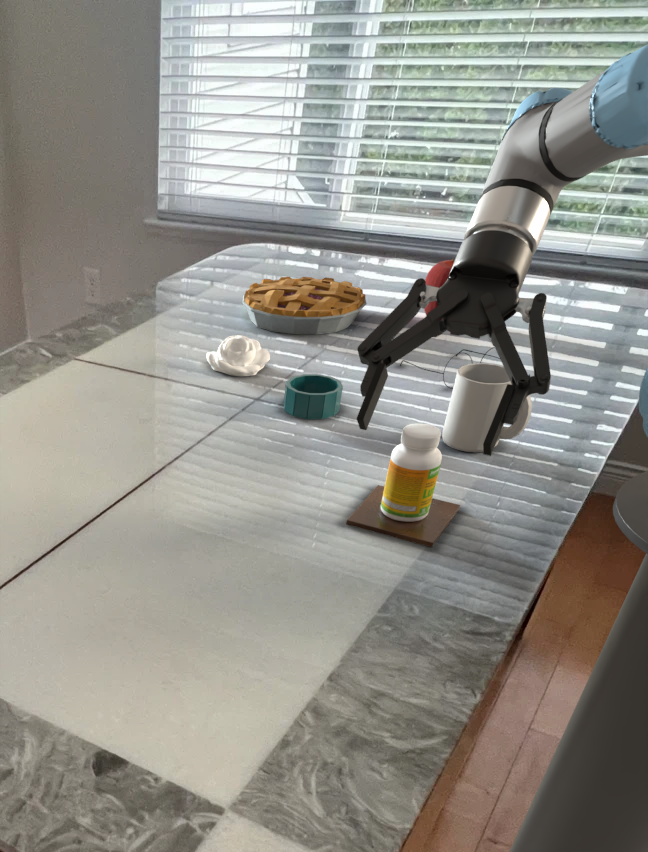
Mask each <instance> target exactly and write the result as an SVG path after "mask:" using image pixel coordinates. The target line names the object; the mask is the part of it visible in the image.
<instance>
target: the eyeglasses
mask: <svg viewBox="0 0 648 852" xmlns="http://www.w3.org/2000/svg"><path fill="white" fill-rule="evenodd" d="M493 349H495V347H494V346H493V347H491V348H489V349H488V350H487V351H486V352H485V353H483V352H479V351H478V352H477V351H473V350H470V349H463V348H462V349H461V350H460V351H459V352H457V353H456V354H454V355H453V356H452V357H450V359H449V360H448V361H447V363H446V364H445V366H444V370H443V372H440V371H436V370H430V369H426V368H423V367H420V366H418V365H416V364H414V363H412V362H409V361H407V360H405V359H402V360H401V362H400V364H399V367H402V364H403V362H404V363H406V364H409V365H411V366H414V367H416V368H418V369H421V370H424V371H428V372H432V373H437V374H441V375H442V380H443V384H444V385H445V386H446V388H448V389H452V390H453V387H450V386H448V385H447V384H446V381H445V371H446V369H447V366H448V364H449V363H450V361H451V360H452V359H453V358H454V357H457V356H459V355H460V354H461V353H463V351H465V352H464V354H465V355H468V357H469V358H470V361H471V364H474V363H473V359H472V356H471V355H470V354H469V353H467V352H470V353H475V354H479V355H482V357H481V359H480V362H479V363H482V361H483V359H484V358H485V356H487V357H492V358H496V359H499V360H500V357H499V356H498V357H497V356H494V355H491V354H488V353H489V352H490V351H491V350H493Z"/></svg>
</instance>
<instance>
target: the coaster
mask: <svg viewBox="0 0 648 852" xmlns="http://www.w3.org/2000/svg"><path fill="white" fill-rule="evenodd" d="M384 487H385V485H379V484H378V485H376V487H375V488H374V489H373V490H372V491H371V492H370V494H369V495H367V497H366V498H365V499H364V500H363V501H362V502H361V503H360V505H359V506H358V507H356V509H355V510H354V511H353V512H352V514H351V515H350V516H349V517H348V518H347V519H346V521H345V524H346V525H347V526H351V527H354V528H358V529H362V530H366V531H369V532H373V533H376V534H381V535H384V536H388V537H392V538H396V539H400V540H403V541H406V542H410V543H415V544H419V545H422V546H426V547H429V548H433V547H434V546H435V544H436V542H437V541H438V539H440V537H441V535H442V534H443V533H444V532H445V530H446V529H447V527H448V526H449V524H450V523H451V521H452V520H453V519H454V518H455V516H456V515H457V513H458V512H459V511H460V508H461V504H459V503H454V502H449V501H445V500H441V499H437V498H433V497H432V501H431V505H430V509H429V512H428V514H427V516H426V517H425V518H423V519H421V520H419V521H413V522H404V521H397V520H394V519H391V518H389V517H387V516H386V515H385V514H384V513H383V512H382V511H381V501H382V497H383V492H384Z"/></svg>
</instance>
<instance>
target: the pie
mask: <svg viewBox="0 0 648 852" xmlns="http://www.w3.org/2000/svg"><path fill="white" fill-rule="evenodd" d="M366 300H367V299H366V294H365V293H364V292H363V288H361V287H359V286H357V287H356V286H353V283H352V282H351V281H347V280H344V281H341V282H340V281H335V279H334V278H333V277H323V278H322V279H321V278H320V279H319V278H314V277H311V276H302V277H300V278H297V277H296V278H292V277H291V276H280V278H279V279H275V280H274V279H271V278H264V279H262V280H261V282H260V284H259V283H258V282H253V283H251V284H250V285H249V288H248V289H247V290H245V292H244V294H243V295H242V305H243V306H244V307H245V309H246V311H247V314H248V317H249V320H250V321H251V322H252V324H254V325H255V326H256V328H260V329H263V330H267V331H270V332H276V333H282V334H290V335H324V334H334V333H338V332H341V331H343V330H345V329H347V328H349V326H350V325H351V324H352V323H354V321H355V320H356V318H357V317H358V315H359V313H360V312H361V310H363V308H364V307H365V306H366V305H367V301H366Z"/></svg>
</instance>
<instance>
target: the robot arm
mask: <svg viewBox="0 0 648 852" xmlns="http://www.w3.org/2000/svg"><path fill="white" fill-rule="evenodd" d="M505 130H506V131H505V132H504V133H503V134H502V138H501V140H500V144H499V148H498V149H497V153H496V155H495V158H494V160H493V163H492V166H491V168H490V171H489V174H488V176H487V179H486V181H485V184H484V187H483V188H482V191H481V194H480V198H479V200H478V202H477V204H476V207H475V209H474V212H473V214H472V216H471V219H470V221H469V224H468V226H467V229H466V231H465V233H464V237H463V238H464V239H463V241H462V242H461V244H460V246H459V249H458V251H457V255H456V256H455V259H454V260H455V261H454V264H453V266H452V269H451V271H450V274H449V276H448V279H447V281H446V282H445V283H444V284H443V285H442V286H441V287H440V288H438V287H434V286H430V285H426V282H425V279H424V278H423V277H420V278H417V279H416V280H415V281H414V282H413V284H412V286H411V289H410V290H409V292H408V293H407V296H406V297H405V298H404V299H403V300H402V301H401V302H400V303H398V305H397V306H396V307H395V308H394V309H393V310H392V311H391V312H390V313H389V314H388V315H387V316H386V317H385V318H384V319H383V320H382V322H380V323H379V324H378V325H377V326H376V327H375V328H374V329H373V331H371V333H370V334H368V336H366V338H364V340H363V341H362V342H361V343H359V345H358V346H357V348H356V349H357V354H358V357H359V358H358V359H359V361H360V363H361V365H366V366H367V367H366V370H365V374H364V376H363V378H362V381H361V384H360V386H359V387H360V388H359V389H360V394H361V396H362V397H363V398H364V399H363V401H362V403H361V405H360V409H359V411H358V413H357V416H356V422H357V424H358V428H359V430H363V431H367V430H368V428H369V425H370V422H371V420H372V418H373V415H374V413H375V410H376V408H377V405H378V402H379V400H380V397H381V394H382V392H383V390H384V387H385V385H386V383H387V379H388V377H389V374H388V369H387V368H390V367H391V366H392V365H394V364H395V363H397V362H398V361H400V360H401V359H403V358H404V357H405V356H407V355H408V354H410V353H411V352H414V350H416V349H417V348H419V347H420V346H422V345H423V344H425V343H427V342H428V341H430V340H431V339H432V338H438V337H439V336H441V335H442V334H443V333H445V332H448V333H449V334H450V335H451V336H457V337H458V336H467V337H470V338H472V339H478V340H479V339H480V338H481V337H485V336H488V338H489V340H490V342H491V344H492V346H493V347H495V348H494V349H495V351H496V353H497V355H498V358H500V359H499V360H500V362H501V364H502V366H504V368H505V370H506V373H507V375H508V377H509V379H510V381H511V384H512V385H511V384H507V386H506V389H505V391H504V394H503V396H502V399H501V401H500V404H499V406H498V409H497V411H496V414H495V416H494V418H493V421H492V423H491V426H490V428H489V431H488V433H487V436H486V438H485V441H484V443H483V452H482V453H483V455H485V456H489V457H491V456H492V454H493V451H494V449H495V447H496V446H495V444H496V442H497V439H498V437H499V434H500V432H501V429H502V427H503V424H504V425H505V424H507V425H510V426H511V425H513V424H514V423H515V422H516V421H517V418H518V415H519V413H520V411H521V408H522V406H523V403H524V401H525V399H526V397H527V396H528V395H529V396H531V395H534V394H538V395H541V396H542V395H546V394H547V393H548V392H549V391H550V387H551V378H552V374H551V368H550V361H549V354H548V353H549V352H548V347H547V338H546V332H545V331H546V330H545V323H544V317H545V315H546V308H547V295H546V293H544V292H538V293H536V294H535V295H534V297H533V298H529V297H528V298H527V297H520V296H519V295H520V292H521V289H522V287H523V284H524V281H525V280H526V277H527V274H528V272H529V269H530V267H531V264H532V262H533V257H534V255H535V253H536V252H537V250H538V248H539V245H540V243H541V240H542V238H543V234H544V232H545V231H546V227H547V225H548V222H549V219H550V217H551V215H552V212H553V210H554V207H555V205H556V203H557V201H558V198H559V195H560V193H561V191H562V190H563V189H564V188H565V187H566V186H568V185H570V184H572V183H574V182H576V181H578V180H581V179H582V178H584V177H586V176H588V175H590V174H591V173H594V172H596V171H597V170H599V169H601V168H603V167H605V166H607V165H609V164H611V163H613V162H616V161H619V160H624V159H630V158H638V157H639V158H640V157H646V156H648V43H647V44H646V45H644V46H642V47H640V48H638V49H637V50H634V51H633V52H629V53H627V54H625V55H622V56H621V57H620V58H619V59H618V60H616V61H614V62H613V63H612V64H611V65H610V66H609V67H608V68H606V69H605V70H603V71H602V72H601V73H598V74H597V75H595V76H594V77H593V78H592V79H590V80H589V81H587V82H585V83H584V84H582V85H581V86H580V87H578V88H577V89H575V90H570V89H568V88H564V87H550V88H549V89H548V90H545V91H543V90H537V91H535V92H533V93H531V94H530V95H527V97H525V99H523V100H522V101H521V103H520V104H519V105H518V107H517V108H516V110H515V112H514V115H513V117H512V119H511V122H510V123H509V124H508V126H507V127H506V129H505ZM432 301H437V307H436V308H434V309H433V310H431V311H430V312H429V313H428V314H427V316H426V315H425V317H424V318H422V319H421V320H419V321H418V322H416V323H415V324H413V325H412V326H410V327H409V328H407V329H406V330H405V331H403V329H405V328H406V326H407V325H408V324H409V323H410V322H411V321H412V320H413V319H414V318H415V317H416V316H417V314H418V313H419V312H420V310H421V309H423V310H424V308H426V306H427V305H428V304H429V303H430V302H432ZM517 313H520V315H521V319H522V321H523V322H525V324H528V339H529V346H530V354H531V360H532V368H533V375H532V376H531V374H530V373H529V374H528V372H527V370H526V368H525V367H526V366H524V363H523V361H522V359H521V357H520V355H519V352H518V350H517V347H516V346H515V343H514V342H513V340H512V338H511V335H510V333H509V330H508V328H507V324H506V322H507V321H508V320H509V319H511V318H512V317H513V316H514V315H515V314H517ZM441 318H442V320H440V319H441ZM439 320H440V321H439ZM401 331H403V332H402V333H401ZM638 413H639V414H640V415H641V418H642V428H643V432H644V433H645V436H646V437H647V438H648V367H647V368H646V369H645V372H644V374H643V377H642V380H641V383H640V386H639V392H638Z"/></svg>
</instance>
